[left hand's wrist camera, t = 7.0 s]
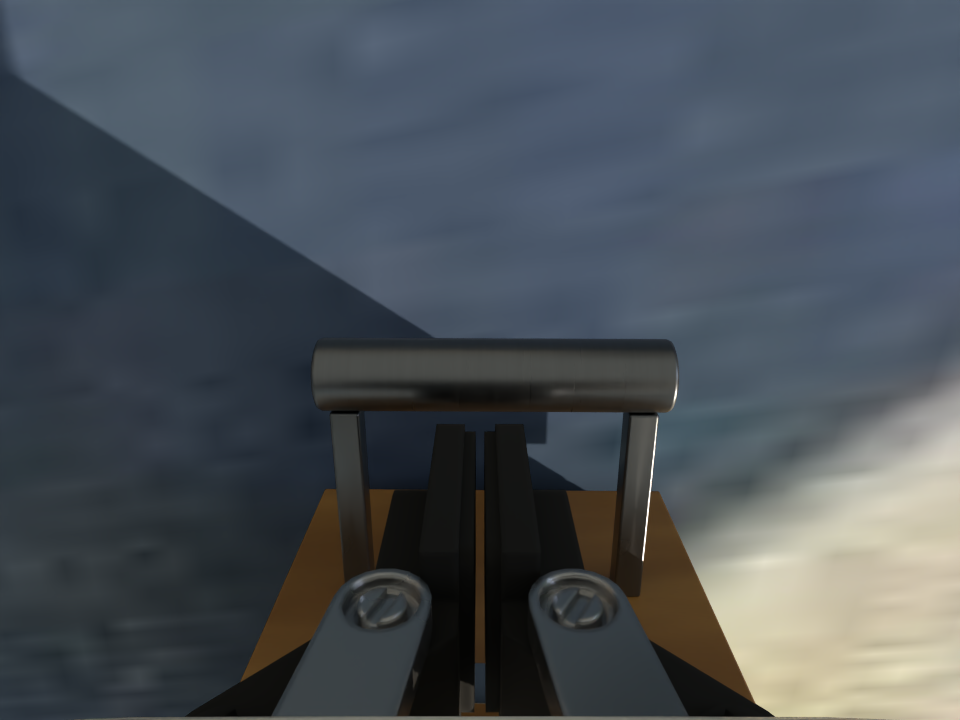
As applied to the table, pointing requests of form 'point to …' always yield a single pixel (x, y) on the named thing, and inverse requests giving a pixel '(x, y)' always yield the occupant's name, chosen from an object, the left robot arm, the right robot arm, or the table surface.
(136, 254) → the table surface
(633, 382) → the drawer
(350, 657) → the left robot arm
